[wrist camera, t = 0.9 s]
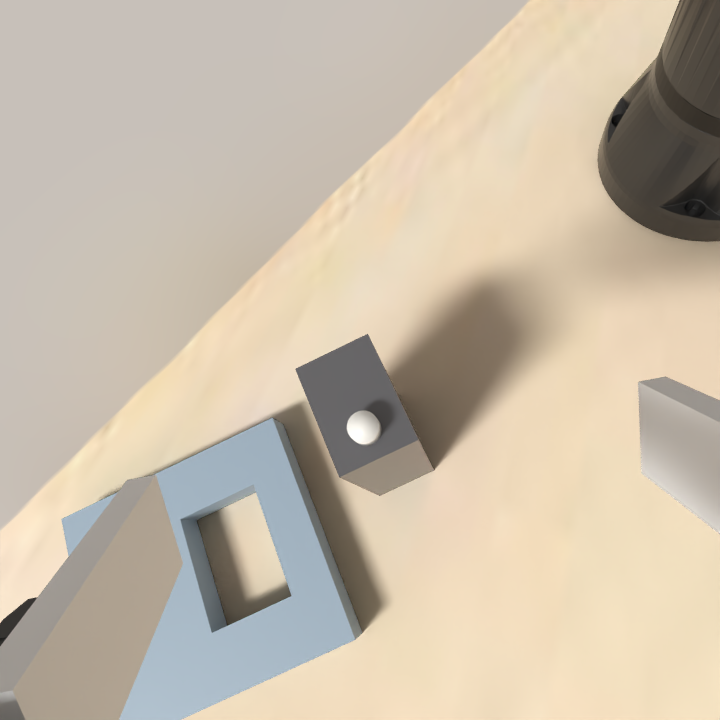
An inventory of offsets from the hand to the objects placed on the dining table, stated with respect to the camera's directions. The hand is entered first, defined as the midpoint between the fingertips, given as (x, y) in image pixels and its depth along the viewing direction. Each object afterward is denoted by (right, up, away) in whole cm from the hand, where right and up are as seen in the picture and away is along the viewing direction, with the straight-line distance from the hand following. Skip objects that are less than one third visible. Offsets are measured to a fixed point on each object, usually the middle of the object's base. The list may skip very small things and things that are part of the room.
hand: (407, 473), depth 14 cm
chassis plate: (-12, -13, +25) cm, 31 cm away
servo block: (+1, -3, +25) cm, 26 cm away
